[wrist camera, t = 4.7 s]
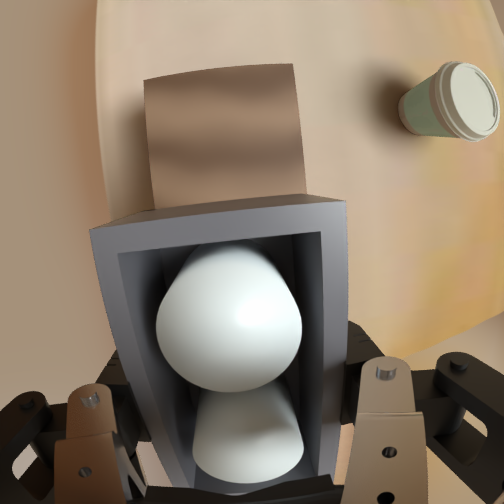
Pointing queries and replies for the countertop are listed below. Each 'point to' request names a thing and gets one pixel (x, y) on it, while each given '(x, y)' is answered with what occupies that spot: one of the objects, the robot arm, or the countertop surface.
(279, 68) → the small wooden cabinet
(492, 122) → the coffee cup
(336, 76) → the countertop surface
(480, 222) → the countertop surface
